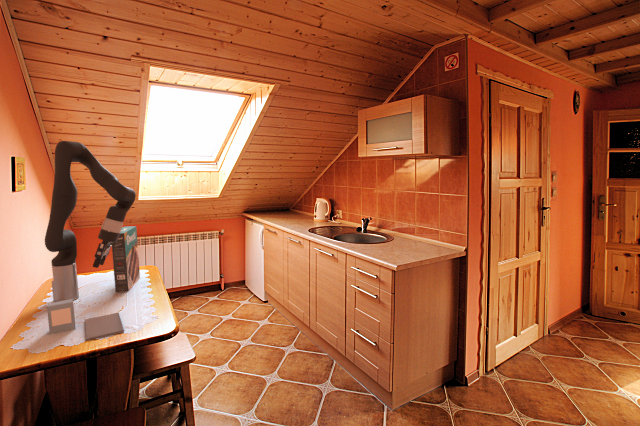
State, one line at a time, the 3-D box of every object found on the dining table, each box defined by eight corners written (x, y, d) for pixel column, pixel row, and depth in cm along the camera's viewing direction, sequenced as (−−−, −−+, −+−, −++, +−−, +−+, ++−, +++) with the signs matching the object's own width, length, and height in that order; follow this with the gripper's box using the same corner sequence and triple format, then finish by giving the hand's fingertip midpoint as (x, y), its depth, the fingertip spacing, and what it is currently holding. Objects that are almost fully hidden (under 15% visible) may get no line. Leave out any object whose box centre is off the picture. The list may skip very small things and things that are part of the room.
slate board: (85, 321, 145) (85, 319, 145) (118, 314, 152) (118, 312, 151) (86, 340, 128) (86, 338, 128) (123, 332, 135) (123, 330, 135)
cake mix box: (128, 291, 180) (124, 233, 176) (115, 292, 179) (110, 233, 175) (140, 278, 201) (136, 226, 197) (128, 278, 200) (124, 226, 196)
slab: (49, 334, 133) (46, 306, 132) (50, 330, 137) (47, 303, 135) (75, 329, 138) (72, 302, 136) (75, 325, 141) (72, 298, 140)
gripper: (105, 227, 159) (92, 261, 158) (97, 227, 146) (83, 265, 144) (123, 231, 162) (110, 266, 160) (117, 233, 149) (103, 270, 147)
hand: (97, 265), depth 152 cm, fingers open, 8 cm apart
